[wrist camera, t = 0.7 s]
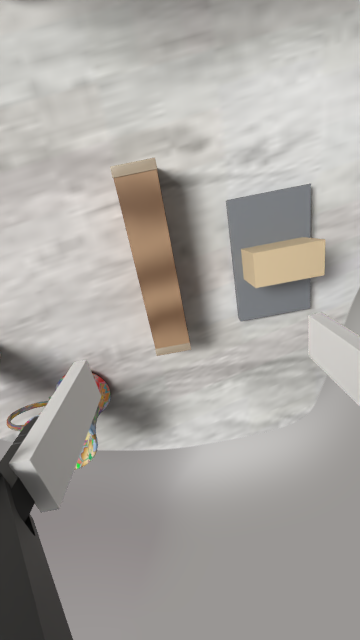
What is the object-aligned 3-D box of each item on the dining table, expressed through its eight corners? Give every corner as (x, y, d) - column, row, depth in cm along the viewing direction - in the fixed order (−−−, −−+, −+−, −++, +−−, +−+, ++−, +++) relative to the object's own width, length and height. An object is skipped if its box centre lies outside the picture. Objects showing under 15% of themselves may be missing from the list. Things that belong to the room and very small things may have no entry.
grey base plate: (226, 200, 32) (238, 195, 26) (305, 184, 31) (336, 176, 25) (238, 318, 37) (251, 335, 32) (305, 305, 37) (331, 321, 31)
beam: (119, 175, 30) (110, 166, 25) (157, 167, 30) (154, 157, 25) (158, 339, 38) (156, 355, 33) (188, 333, 38) (191, 349, 33)
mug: (118, 371, 40) (102, 421, 30) (109, 417, 43) (92, 476, 33) (39, 357, 38) (-6, 403, 28) (36, 405, 41) (-6, 463, 31)
